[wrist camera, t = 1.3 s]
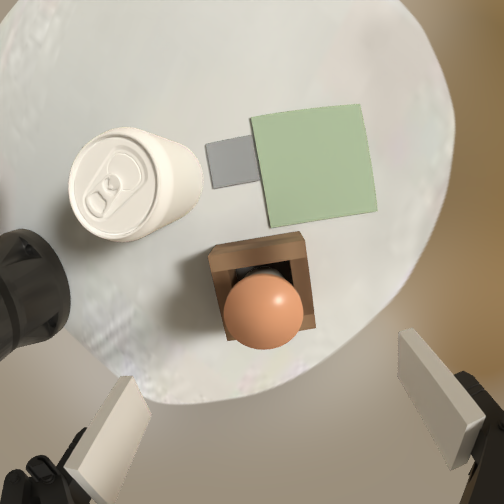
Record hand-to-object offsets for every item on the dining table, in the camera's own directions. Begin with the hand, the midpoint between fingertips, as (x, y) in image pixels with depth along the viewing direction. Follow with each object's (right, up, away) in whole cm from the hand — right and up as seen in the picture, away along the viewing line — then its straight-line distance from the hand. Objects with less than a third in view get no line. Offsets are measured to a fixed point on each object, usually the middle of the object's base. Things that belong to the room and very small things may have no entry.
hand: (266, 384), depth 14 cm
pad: (+6, +15, +15) cm, 22 cm away
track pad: (-3, +15, +16) cm, 22 cm away
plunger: (0, +3, +15) cm, 16 cm away
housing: (+1, +4, +18) cm, 19 cm away
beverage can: (-9, +13, +17) cm, 23 cm away
